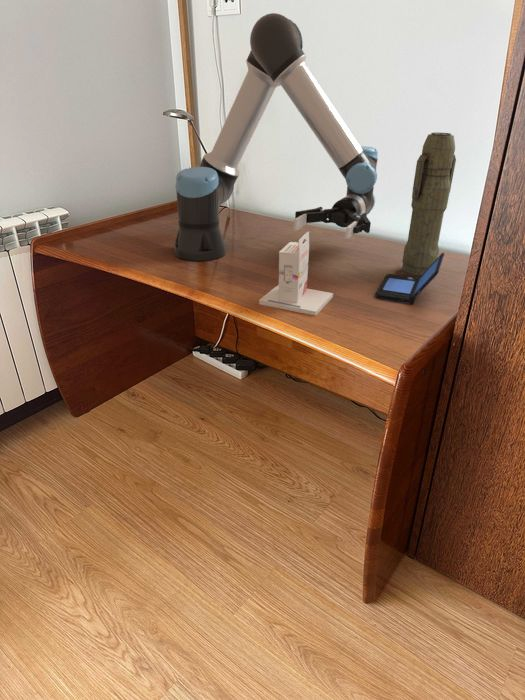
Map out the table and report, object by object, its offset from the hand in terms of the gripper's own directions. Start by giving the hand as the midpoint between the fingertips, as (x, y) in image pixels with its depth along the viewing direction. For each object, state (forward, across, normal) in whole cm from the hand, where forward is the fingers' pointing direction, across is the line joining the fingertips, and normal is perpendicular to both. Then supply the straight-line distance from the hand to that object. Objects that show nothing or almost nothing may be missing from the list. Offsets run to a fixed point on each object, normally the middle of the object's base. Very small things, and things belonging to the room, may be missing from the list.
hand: (320, 228), depth 123 cm
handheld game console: (-5, -22, -14) cm, 27 cm away
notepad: (+13, 0, -14) cm, 19 cm away
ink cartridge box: (+13, +1, -13) cm, 19 cm away
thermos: (-21, -22, -14) cm, 33 cm away
